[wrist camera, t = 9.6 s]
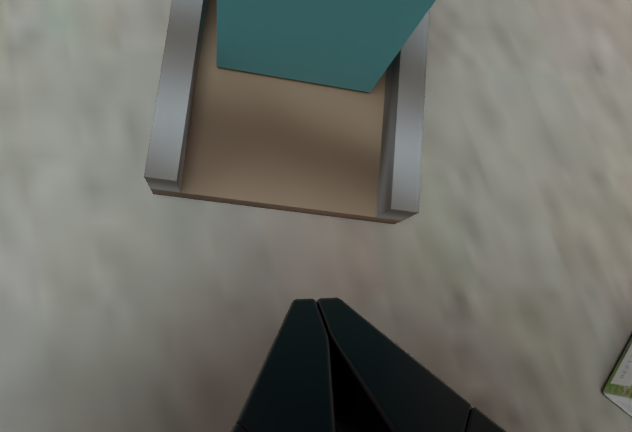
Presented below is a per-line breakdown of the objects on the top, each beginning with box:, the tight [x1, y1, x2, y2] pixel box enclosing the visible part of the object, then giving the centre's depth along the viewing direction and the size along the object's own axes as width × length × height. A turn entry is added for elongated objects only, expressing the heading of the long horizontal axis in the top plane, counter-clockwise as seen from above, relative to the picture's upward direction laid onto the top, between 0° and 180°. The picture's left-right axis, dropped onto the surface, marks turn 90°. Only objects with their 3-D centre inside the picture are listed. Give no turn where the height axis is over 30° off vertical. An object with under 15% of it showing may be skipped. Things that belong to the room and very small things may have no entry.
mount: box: [144, 0, 429, 224], centre depth 22 cm, size 17×11×5 cm, turn 175°
